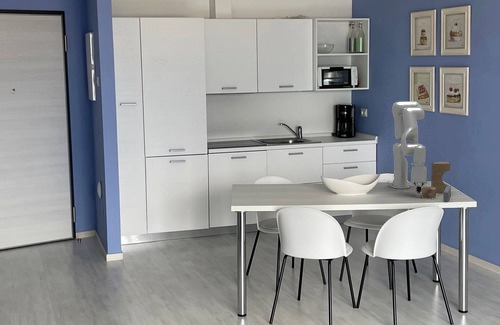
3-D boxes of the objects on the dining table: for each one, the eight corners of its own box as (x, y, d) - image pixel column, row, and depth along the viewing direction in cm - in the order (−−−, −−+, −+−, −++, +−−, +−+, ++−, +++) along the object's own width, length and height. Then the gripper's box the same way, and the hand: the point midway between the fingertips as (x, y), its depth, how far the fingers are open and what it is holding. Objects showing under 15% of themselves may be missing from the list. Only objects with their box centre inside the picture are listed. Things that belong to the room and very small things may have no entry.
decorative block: (446, 191, 468) (447, 161, 465) (449, 192, 463) (450, 163, 460) (430, 191, 467) (431, 162, 464) (433, 193, 461) (434, 163, 458)
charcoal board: (443, 201, 434) (443, 192, 434) (446, 194, 457) (446, 185, 456) (447, 201, 434) (447, 192, 433) (450, 194, 456) (450, 185, 455)
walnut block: (421, 198, 447) (421, 188, 446) (423, 195, 454) (423, 186, 453) (434, 198, 444) (434, 189, 443) (435, 196, 451) (436, 187, 450)
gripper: (406, 165, 447) (406, 193, 450) (430, 166, 442) (429, 194, 445) (408, 163, 454) (408, 191, 457) (431, 164, 449) (431, 192, 452)
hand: (418, 192), depth 451 cm, fingers closed
